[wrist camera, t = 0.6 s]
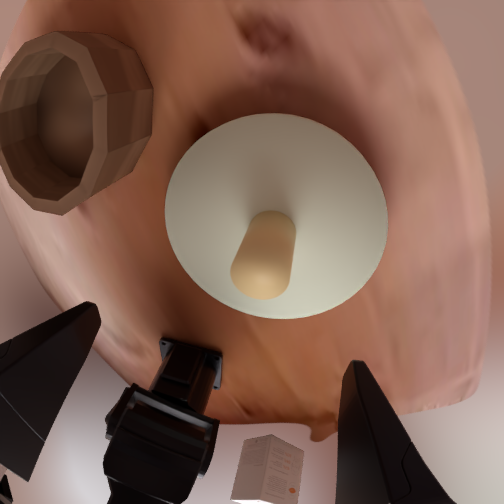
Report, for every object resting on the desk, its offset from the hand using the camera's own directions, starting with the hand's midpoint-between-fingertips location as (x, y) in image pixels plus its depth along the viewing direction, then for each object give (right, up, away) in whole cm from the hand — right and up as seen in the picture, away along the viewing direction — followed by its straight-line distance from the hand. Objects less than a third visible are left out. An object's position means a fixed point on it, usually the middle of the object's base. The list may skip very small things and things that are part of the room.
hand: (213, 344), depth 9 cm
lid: (+3, +5, +10) cm, 12 cm away
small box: (+5, -26, +29) cm, 39 cm away
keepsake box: (-11, +13, +8) cm, 19 cm away
